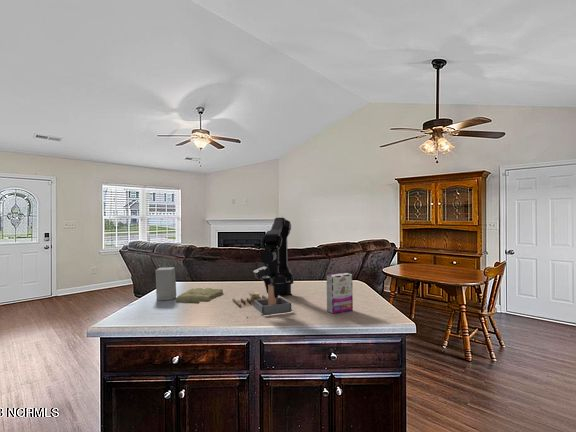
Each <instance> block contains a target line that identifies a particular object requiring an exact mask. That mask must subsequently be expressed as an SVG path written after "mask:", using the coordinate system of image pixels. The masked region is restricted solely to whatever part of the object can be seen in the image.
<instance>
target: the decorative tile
mask: <svg viewBox="0 0 576 432" xmlns="http://www.w3.org/2000/svg"><path fill="white" fill-rule="evenodd" d="M222 295H224V291H223V288H211V287H206V288H205V287H204V288H203V287H202V288H201V287H198V288H197V287H196V288H191V289H188V290H186V291H185V292H182V293H180V294H179V295H178V296H176V297H175V303H197V302H198V303H200V302H211V301H212V299H215V298H216V297H219V296H222Z"/></svg>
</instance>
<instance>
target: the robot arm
mask: <svg viewBox="0 0 576 432" xmlns="http://www.w3.org/2000/svg"><path fill="white" fill-rule="evenodd" d="M291 230H292V224H291V221H289V220H288V219H286V218H285V217H275V218H274V221H273V224H272V226H271V229H270V230H268V231H266V233H265V234H264V235H263V237H262V243H261V249H263V250H264V251H262V252H261V254H260V255H259V257H260V261H261V263H263V266H262V267H259V268H257V269H254V270H253V272H252V273H253V275H254V278H255V279H257V280H261V281H263V283H264V286H265V290H266V294H268V285H269V284H271V285H272V286H273V288H274V296H275V298H279V297H284V296H285V297H286V296H293V293H292V284H294V275H293V272H292V269H291V267H290V265H289V264H288V263H289V262H288V261H289V259H288V258H289V257H288V237H289V235H290V234H291Z"/></svg>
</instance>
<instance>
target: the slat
mask: <svg viewBox="0 0 576 432" xmlns="http://www.w3.org/2000/svg"><path fill="white" fill-rule="evenodd" d="M267 298H268V305H276V298H275V296H274V288H273V286H272V285H271V284H269V285H268V293H267Z"/></svg>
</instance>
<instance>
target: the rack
mask: <svg viewBox="0 0 576 432" xmlns="http://www.w3.org/2000/svg"><path fill="white" fill-rule="evenodd" d="M261 299H268V296H265V295H261ZM232 302H233V303H234V304H235V305H236V306H237V307H238V308H247V307H254V304H253V303H252V302H251V300H250V298H249V297H246V299H244V298H240V299H239V300H237V299H235V298H232Z"/></svg>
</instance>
